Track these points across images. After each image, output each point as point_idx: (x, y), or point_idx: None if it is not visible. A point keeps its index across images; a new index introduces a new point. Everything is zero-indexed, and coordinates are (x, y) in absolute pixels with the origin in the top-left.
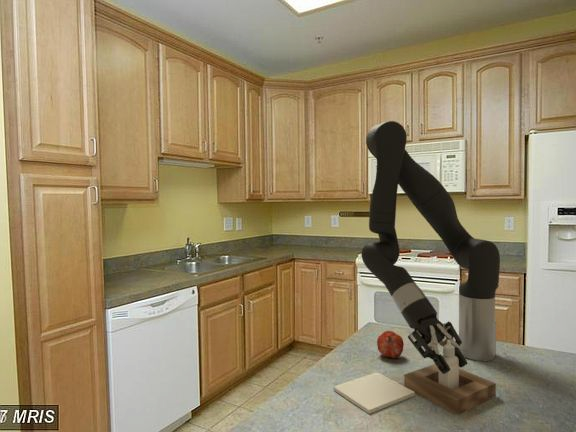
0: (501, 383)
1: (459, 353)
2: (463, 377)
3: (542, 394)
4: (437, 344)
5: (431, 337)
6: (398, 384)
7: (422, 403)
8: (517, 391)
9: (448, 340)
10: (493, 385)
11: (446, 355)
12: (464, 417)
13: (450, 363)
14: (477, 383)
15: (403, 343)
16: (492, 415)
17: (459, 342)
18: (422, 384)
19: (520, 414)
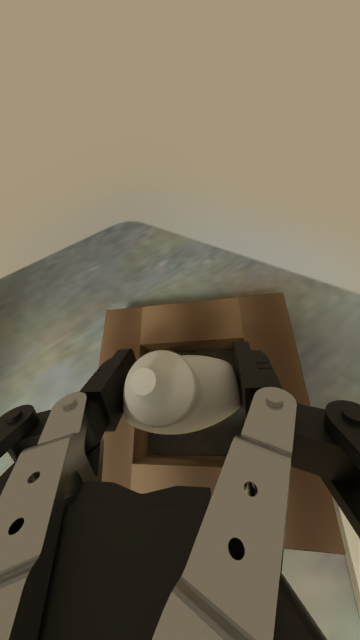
0: (52, 354)
1: (111, 373)
2: None
3: (48, 289)
4: (238, 436)
5: (283, 536)
6: (355, 543)
7: (325, 393)
8: (67, 316)
9: (146, 382)
10: (118, 310)
11: (200, 382)
12: None
13: (208, 357)
14: (146, 330)
15: None
16: (202, 279)
17: (26, 412)
18: None
19: (153, 263)
